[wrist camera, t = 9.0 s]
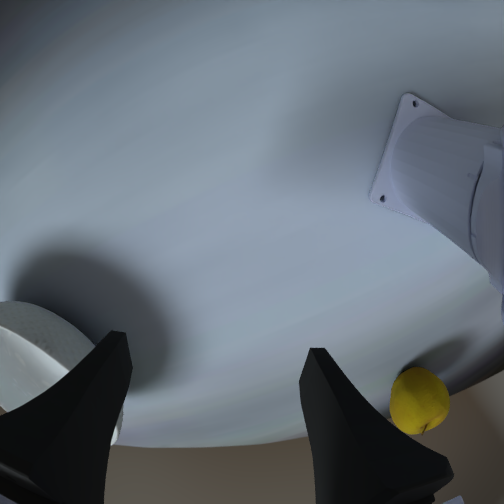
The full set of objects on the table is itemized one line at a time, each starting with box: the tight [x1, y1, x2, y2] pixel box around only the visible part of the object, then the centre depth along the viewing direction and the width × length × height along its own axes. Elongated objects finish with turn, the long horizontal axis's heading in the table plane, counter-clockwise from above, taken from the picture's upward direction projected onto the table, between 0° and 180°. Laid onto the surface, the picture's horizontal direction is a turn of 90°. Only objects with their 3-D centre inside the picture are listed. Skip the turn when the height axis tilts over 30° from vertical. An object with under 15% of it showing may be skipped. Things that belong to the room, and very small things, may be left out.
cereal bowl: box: [0, 301, 123, 445], centre depth 22 cm, size 17×17×7 cm
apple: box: [390, 367, 450, 435], centre depth 25 cm, size 6×6×8 cm
